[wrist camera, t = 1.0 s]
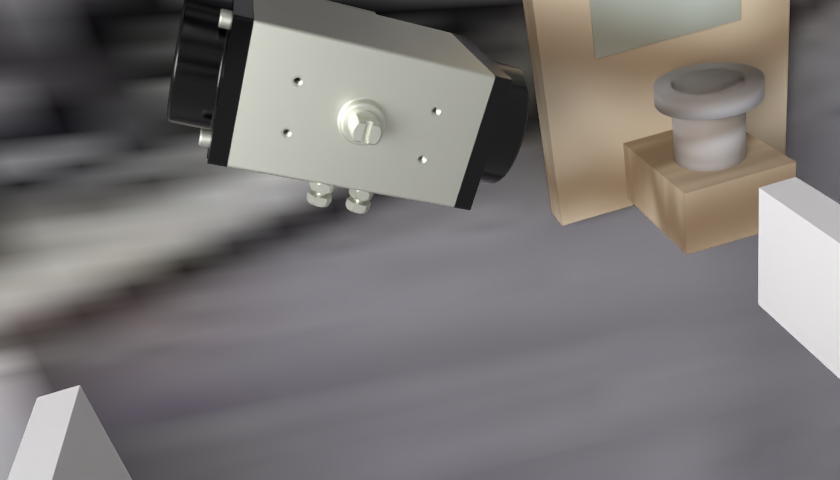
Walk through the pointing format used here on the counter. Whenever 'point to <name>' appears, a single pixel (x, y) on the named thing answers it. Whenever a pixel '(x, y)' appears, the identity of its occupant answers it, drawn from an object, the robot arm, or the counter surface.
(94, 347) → the counter surface
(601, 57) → the pipe stand
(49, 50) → the counter surface
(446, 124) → the pneumatic valve
